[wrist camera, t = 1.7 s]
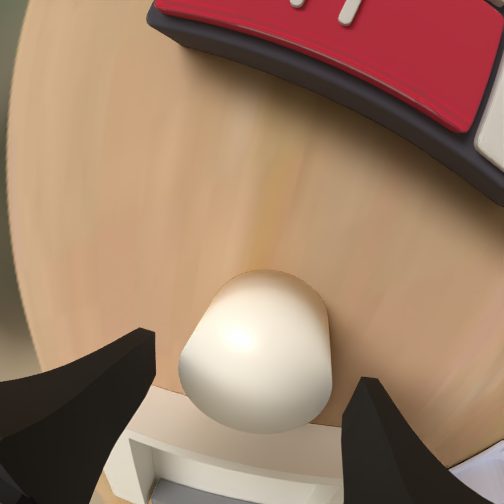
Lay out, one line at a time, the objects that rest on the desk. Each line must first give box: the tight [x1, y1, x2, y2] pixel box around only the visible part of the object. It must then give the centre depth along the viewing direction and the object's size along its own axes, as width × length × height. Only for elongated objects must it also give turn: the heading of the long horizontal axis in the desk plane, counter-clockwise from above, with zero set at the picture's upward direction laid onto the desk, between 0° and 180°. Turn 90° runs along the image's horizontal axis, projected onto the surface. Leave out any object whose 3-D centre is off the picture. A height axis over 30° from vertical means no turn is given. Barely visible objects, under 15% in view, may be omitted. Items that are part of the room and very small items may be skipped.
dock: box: [103, 385, 344, 504], centre depth 16 cm, size 11×16×4 cm
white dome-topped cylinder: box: [178, 270, 332, 434], centre depth 12 cm, size 5×5×4 cm
